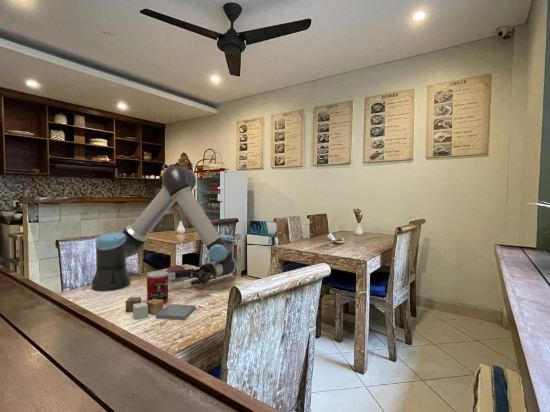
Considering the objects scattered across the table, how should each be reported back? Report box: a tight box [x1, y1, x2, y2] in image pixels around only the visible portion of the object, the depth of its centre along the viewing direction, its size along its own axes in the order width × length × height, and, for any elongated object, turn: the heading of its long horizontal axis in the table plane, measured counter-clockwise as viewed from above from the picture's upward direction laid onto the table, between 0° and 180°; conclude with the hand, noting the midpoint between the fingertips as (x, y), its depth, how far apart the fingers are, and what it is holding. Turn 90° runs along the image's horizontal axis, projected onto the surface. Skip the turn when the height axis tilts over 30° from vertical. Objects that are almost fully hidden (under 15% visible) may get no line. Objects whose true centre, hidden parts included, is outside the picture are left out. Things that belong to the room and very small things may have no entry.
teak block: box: [145, 299, 164, 316], centre depth 105 cm, size 4×4×4 cm
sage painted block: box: [132, 301, 149, 321], centre depth 101 cm, size 4×4×4 cm
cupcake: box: [166, 256, 186, 282], centre depth 146 cm, size 9×8×12 cm
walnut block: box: [125, 296, 142, 313], centre depth 107 cm, size 4×4×4 cm
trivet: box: [155, 303, 196, 321], centre depth 104 cm, size 10×10×1 cm
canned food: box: [146, 270, 169, 305], centre depth 115 cm, size 8×8×11 cm
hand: (172, 281), depth 120 cm, fingers open, 13 cm apart
